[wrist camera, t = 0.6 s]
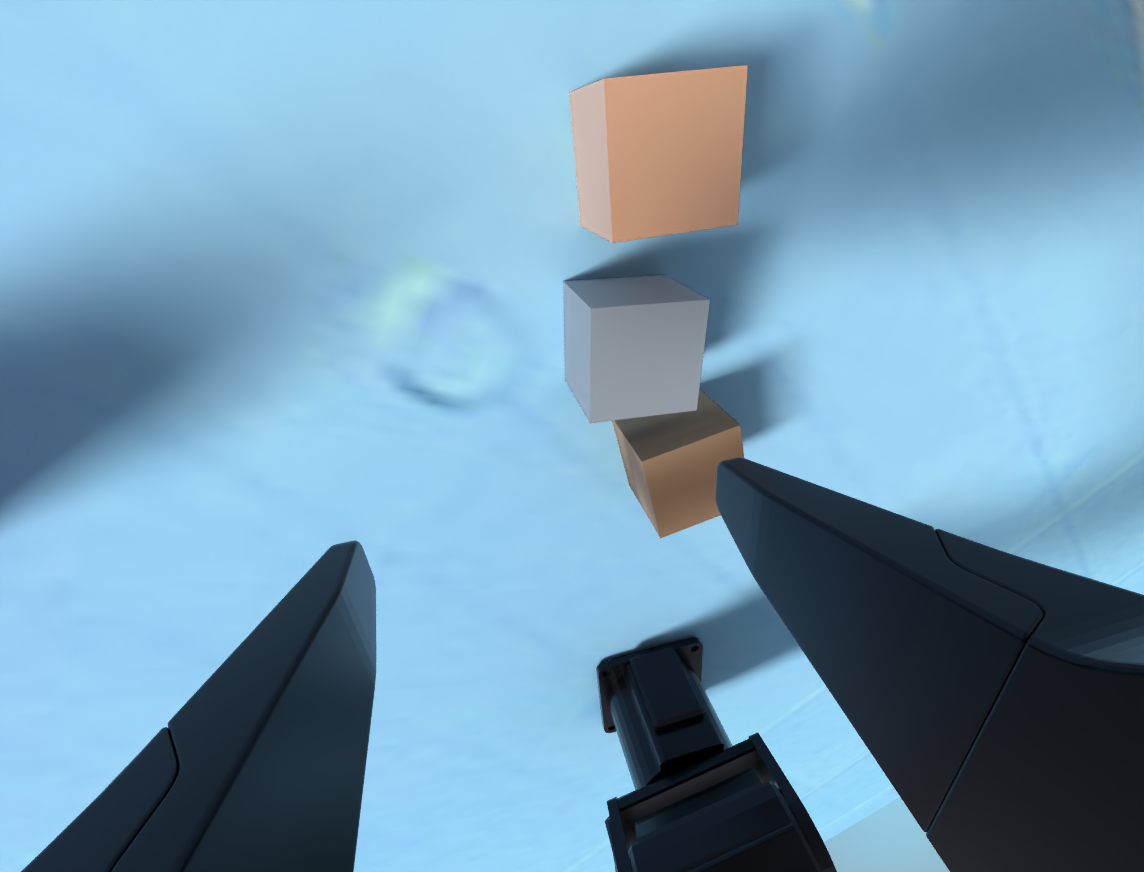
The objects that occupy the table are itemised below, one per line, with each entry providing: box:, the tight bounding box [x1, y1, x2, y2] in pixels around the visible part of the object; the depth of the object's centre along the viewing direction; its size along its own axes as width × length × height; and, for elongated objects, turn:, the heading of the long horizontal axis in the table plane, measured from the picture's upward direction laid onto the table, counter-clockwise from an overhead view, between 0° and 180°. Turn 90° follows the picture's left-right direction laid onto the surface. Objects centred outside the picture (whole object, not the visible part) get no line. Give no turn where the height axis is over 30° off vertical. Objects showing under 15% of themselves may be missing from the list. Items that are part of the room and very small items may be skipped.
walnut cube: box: [612, 389, 744, 538], centre depth 22 cm, size 4×4×4 cm
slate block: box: [563, 275, 710, 423], centre depth 19 cm, size 4×4×4 cm
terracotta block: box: [569, 65, 748, 243], centre depth 16 cm, size 4×4×4 cm
